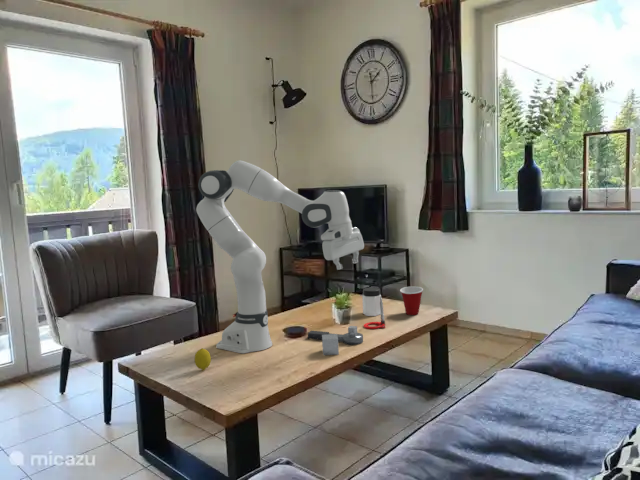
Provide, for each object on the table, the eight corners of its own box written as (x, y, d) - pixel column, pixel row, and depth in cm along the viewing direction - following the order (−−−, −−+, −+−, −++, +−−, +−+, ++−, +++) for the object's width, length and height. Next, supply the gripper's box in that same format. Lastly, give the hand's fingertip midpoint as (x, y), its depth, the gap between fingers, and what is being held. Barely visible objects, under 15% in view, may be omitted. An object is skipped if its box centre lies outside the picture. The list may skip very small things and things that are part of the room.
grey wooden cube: (323, 355, 187) (322, 339, 186) (322, 349, 193) (321, 334, 192) (338, 354, 187) (338, 338, 186) (337, 349, 193) (337, 334, 192)
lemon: (192, 370, 177) (190, 348, 176) (206, 366, 181) (204, 344, 180) (200, 374, 173) (199, 352, 172) (214, 369, 177) (213, 347, 176)
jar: (383, 315, 237) (382, 290, 236) (367, 317, 235) (366, 292, 234) (377, 310, 246) (376, 286, 244) (361, 312, 244) (360, 288, 242)
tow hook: (364, 330, 216) (385, 329, 216) (361, 301, 215) (383, 299, 214) (363, 325, 225) (384, 323, 224) (361, 296, 223) (382, 295, 223)
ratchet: (305, 340, 205) (305, 326, 204) (313, 334, 212) (313, 320, 212) (359, 345, 196) (358, 330, 195) (365, 339, 203) (365, 324, 202)
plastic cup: (396, 315, 237) (395, 289, 235) (406, 309, 245) (406, 285, 244) (417, 318, 230) (416, 292, 229) (427, 312, 239) (427, 287, 237)
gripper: (352, 226, 203) (358, 259, 204) (317, 237, 189) (324, 272, 190) (364, 225, 198) (370, 259, 200) (329, 236, 184) (336, 272, 186)
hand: (347, 266), depth 195 cm, fingers open, 8 cm apart
